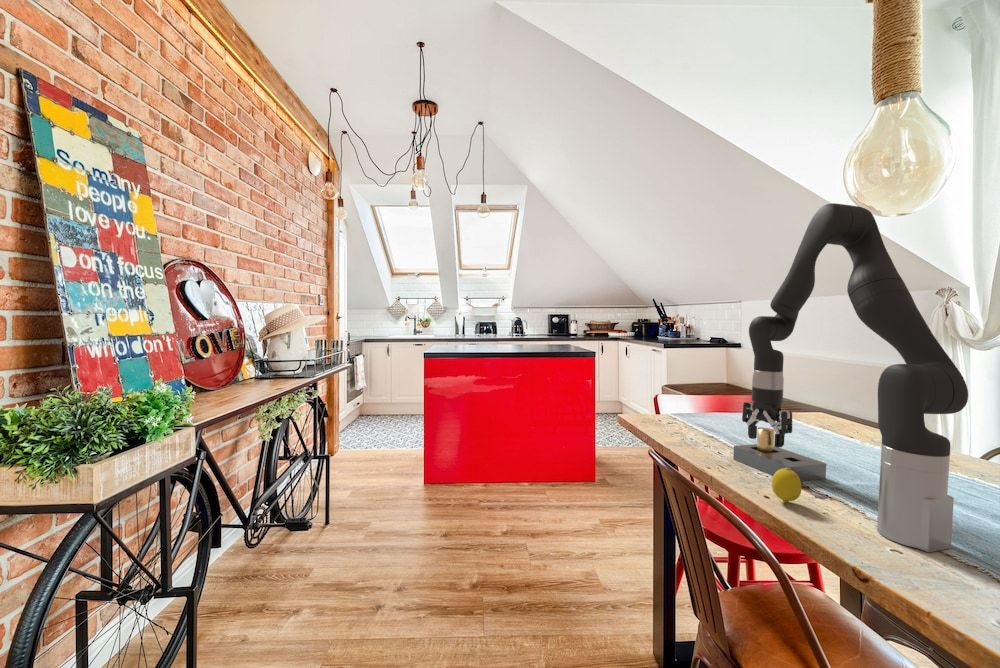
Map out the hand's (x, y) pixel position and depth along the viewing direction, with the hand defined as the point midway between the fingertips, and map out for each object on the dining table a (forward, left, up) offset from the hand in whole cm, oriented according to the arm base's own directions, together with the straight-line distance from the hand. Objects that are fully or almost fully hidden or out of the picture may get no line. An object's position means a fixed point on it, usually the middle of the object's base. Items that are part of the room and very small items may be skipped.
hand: (765, 442), depth 121 cm
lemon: (-22, +18, -6) cm, 29 cm away
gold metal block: (0, 0, -6) cm, 6 cm away
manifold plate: (-4, 0, -6) cm, 7 cm away
